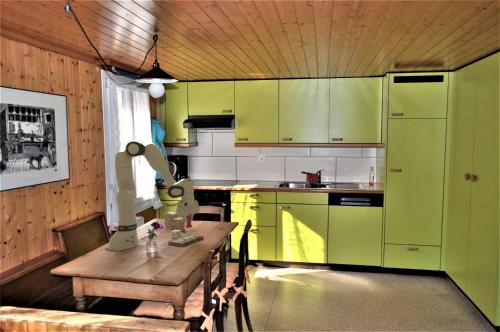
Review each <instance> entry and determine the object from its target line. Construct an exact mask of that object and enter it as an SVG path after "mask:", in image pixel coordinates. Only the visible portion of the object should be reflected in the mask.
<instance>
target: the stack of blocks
mask: <svg viewBox="0 0 500 332" xmlns="http://www.w3.org/2000/svg"><path fill="white" fill-rule="evenodd" d="M185 223H186V222H185V220H184V218H183V217H181V218H180V217H177V214H176V212H175V211H166V212H165V211H164V227H165V226H166V227H165V228H167V227H168V228H167V229H169V228H170V230H172V229H173V230H181V232H183V231H185V230H186V229H185V228H186V225H185ZM173 230H172V231H173ZM182 230H183V231H182Z"/></svg>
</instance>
